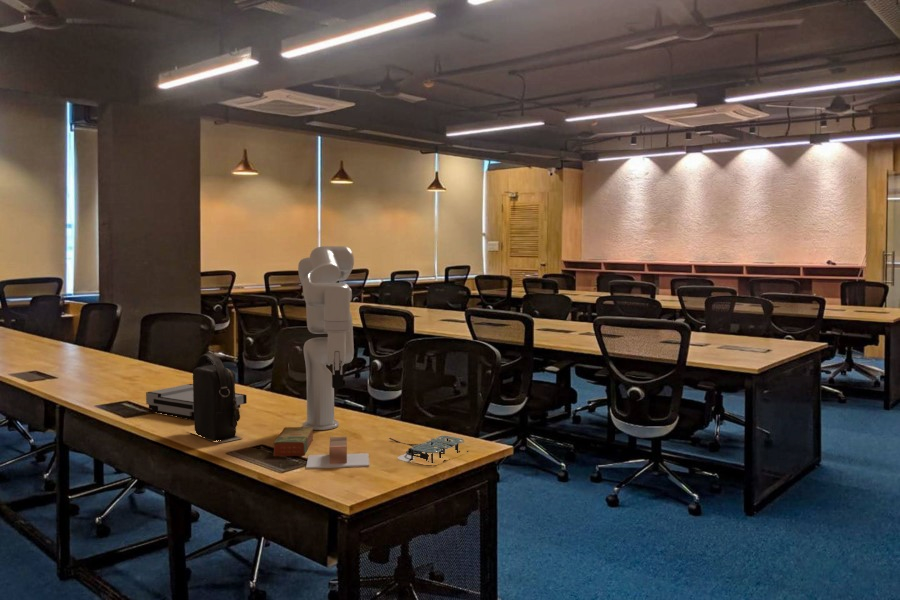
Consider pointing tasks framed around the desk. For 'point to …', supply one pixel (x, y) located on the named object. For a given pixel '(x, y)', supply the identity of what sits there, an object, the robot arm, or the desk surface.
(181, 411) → the game console
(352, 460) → the grey mat
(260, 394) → the desk surface
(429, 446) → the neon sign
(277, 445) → the carton
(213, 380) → the shoulder bag
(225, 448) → the desk surface
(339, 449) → the walnut block
